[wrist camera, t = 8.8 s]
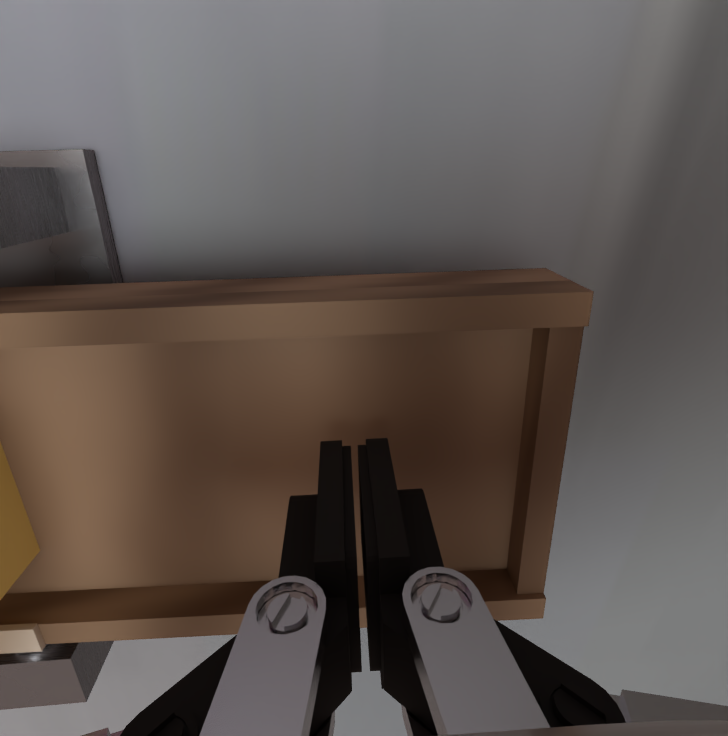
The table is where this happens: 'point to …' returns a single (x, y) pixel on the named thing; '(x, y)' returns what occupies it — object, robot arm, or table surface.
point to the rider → (13, 530)
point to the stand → (49, 268)
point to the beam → (273, 434)
